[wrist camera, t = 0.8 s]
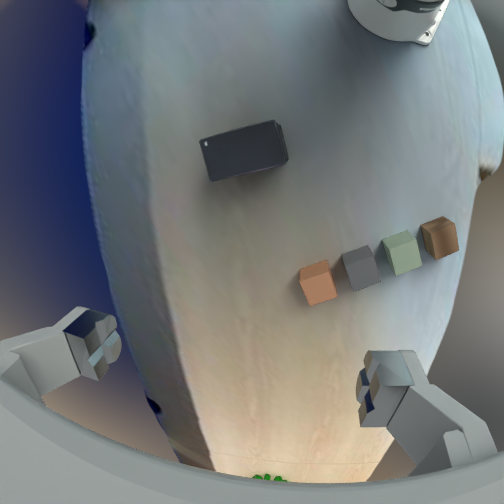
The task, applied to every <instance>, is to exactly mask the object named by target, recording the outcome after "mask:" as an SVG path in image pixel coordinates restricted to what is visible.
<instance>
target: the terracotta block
mask: <svg viewBox="0 0 504 504" xmlns="http://www.w3.org/2000/svg"><path fill="white" fill-rule="evenodd" d="M299 282H300V284H301V286H302V289H303V291H304V294H305V296H306V298H307V301H308V303H309V305H310V306H312V305H315V304H318V303H321V302H324V301H327V300H330V299H333V298H336V297H337V291H336V285H335V282H334V279H333V276H332V274H331V271H330V268H329V265H328V263H327V260H325V261H322V262H319V263H316V264H313V265H311V266H308V267H305V268H302V269H300V281H299Z"/></svg>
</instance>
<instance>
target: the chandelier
mask: <svg viewBox="0 0 504 504" xmlns="http://www.w3.org/2000/svg"><path fill="white" fill-rule="evenodd" d="M255 476H256V477H255ZM255 476H254V477H255V479H262V477H261V476H257V475H255ZM254 477H253V478H254ZM264 480H270V475H268V474H266V475H265V477H264ZM274 481H283V482H287V481H286V480H282V478H281V477H280V476H279V477H276V478H275V479H274Z"/></svg>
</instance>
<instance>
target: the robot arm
mask: <svg viewBox="0 0 504 504" xmlns="http://www.w3.org/2000/svg"><path fill="white" fill-rule="evenodd" d="M448 4H449V0H348V5H349V8H350V10H351V12H352V14H353V16H354V17H355V18H356V19H357V21H358V22H359V23H360V24H361V25H363V26H364V27H365V28H366V29H368V30H369V31H371V32H372V33H374V34H376V35H378V36H380V37H382V38H385V39H388V40H393V41H413V42H416V43H419V44H422V45H428V44H429V43H430V42H431V40H432V38H433V36H434V34H435V32H436V30H437V28H438V26H439V23H440V21H441V19H442V17H443V15H444V13H445V10H446V8H447V6H448ZM425 33H426V34H427V35H428V36H426V35H425ZM116 327H117V324H116V320H115V318H114V317H113V316H112V315H109V314H106V313H102V312H99V311H95V310H92V309H88V308H84V307H76V308H75V309H74V310H72V311H71V312H70V313H69V314H68V315H66V316H65V317H64V318H63V319H61V320H60V321H59V322H58V323H57V324H55V325H54V326H53V327H52V328H51V327H46V328H43V329H40V330H36V331H33V332H29V333H26V334H23V335H19V336H16V337H12V338H9V339H5V340H2V341H0V504H504V451H502V452H499V453H498V452H497V450H496V447H495V444H494V442H493V439H492V437H491V434H490V432H489V430H488V427H487V425H486V423H485V422H484V421H483V420H481V419H480V418H479V417H477V416H476V415H474V414H473V413H472V412H470V411H469V410H468V409H467V408H465V407H464V406H462V405H461V404H460V403H458V402H457V401H456V400H454V399H453V398H451V397H450V396H449V395H447V394H446V393H445V392H443V391H442V390H441V389H439V388H438V387H437V386H435V385H430V384H429V382H428V379H427V377H426V375H425V372H424V370H423V368H422V366H421V363H420V361H419V359H418V357H417V355H416V352H415V351H413V350H398V351H371V350H368V352H367V353H366V355H365V358H364V365H365V368H363V369H362V370H361V371H360V372H359V375H358V378H357V384H356V398H357V401H358V402H359V403H360V404H361V406H360V408H359V410H358V413H359V420H360V427H387V430H388V431H389V432H390V433H391V434H392V436H393V437H394V438H395V439H396V440H397V442H398V443H399V444H400V445H401V446H402V447H403V449H404V450H405V451H406V452H407V454H408V455H409V456H410V457H411V458H412V460H413V461H414V462H415V463H416V464H417V466H416V468H415V469H414V470H413V471H412V472H411V473H410V474H409V475H408V476H407V477H404V478H397V479H389V480H382V481H370V482H355V483H298V482H283V481H272V480H263V479H255V478H248V477H241V476H235V475H230V474H224V473H219V472H214V471H210V470H205V469H201V468H197V467H193V466H189V465H185V464H181V463H178V462H174V461H171V460H167V459H164V458H161V457H158V456H154V455H151V454H148V453H145V452H143V451H140V450H137V449H134V448H132V447H129V446H126V445H124V444H121V443H119V442H116V441H114V440H112V439H109V438H107V437H105V436H102V435H100V434H98V433H96V432H94V431H92V430H89V429H87V428H85V427H83V426H81V425H79V424H77V423H75V422H73V421H71V420H70V419H67V418H66V417H64V416H62V415H60V414H59V413H57V412H55V411H53V410H52V409H50V408H48V407H46V405H45V403H44V401H43V399H42V398H41V396H42V395H44V394H46V393H48V392H50V391H52V390H54V389H56V388H58V387H59V386H61V385H63V384H65V383H67V382H69V381H71V380H73V379H75V378H77V377H78V376H80V375H83V376H86V377H89V378H91V379H94V380H97V381H99V380H100V379H101V378H102V377H103V375H104V374H105V373H106V372H107V370H108V364H110V363H112V362H115V360H116V359H117V358H118V356H119V354H120V351H121V340H120V336H119V335H118V334H117V332H116V331H115V329H116Z"/></svg>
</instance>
